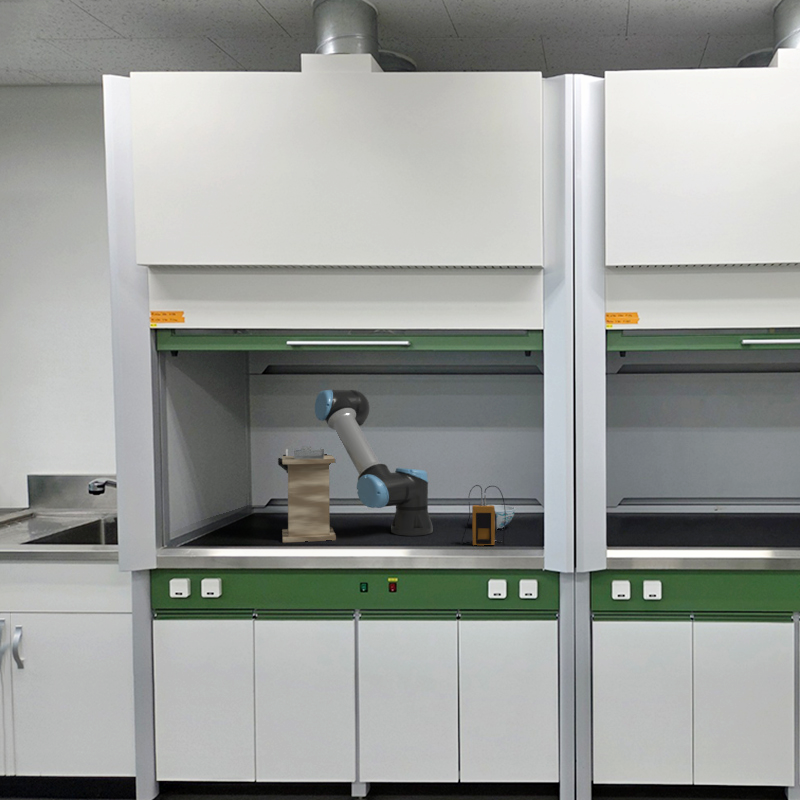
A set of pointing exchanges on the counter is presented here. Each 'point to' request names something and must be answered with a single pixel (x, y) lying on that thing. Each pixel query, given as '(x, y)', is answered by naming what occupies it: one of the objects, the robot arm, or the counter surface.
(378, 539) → the counter surface
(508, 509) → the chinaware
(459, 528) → the counter surface
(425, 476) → the robot arm
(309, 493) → the stand
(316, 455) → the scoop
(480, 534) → the multimeter
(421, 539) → the counter surface
